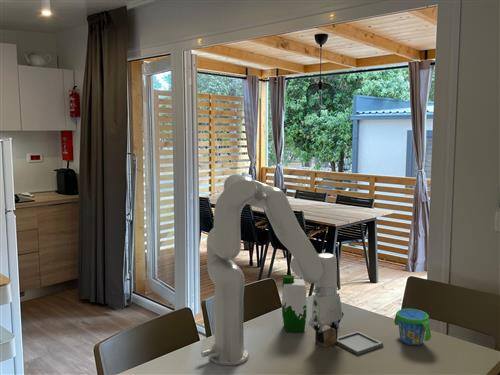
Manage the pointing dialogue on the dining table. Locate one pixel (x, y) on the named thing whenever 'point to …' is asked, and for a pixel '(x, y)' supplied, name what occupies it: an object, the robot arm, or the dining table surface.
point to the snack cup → (413, 326)
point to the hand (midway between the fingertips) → (326, 338)
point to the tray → (358, 342)
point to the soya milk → (293, 304)
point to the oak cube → (327, 336)
